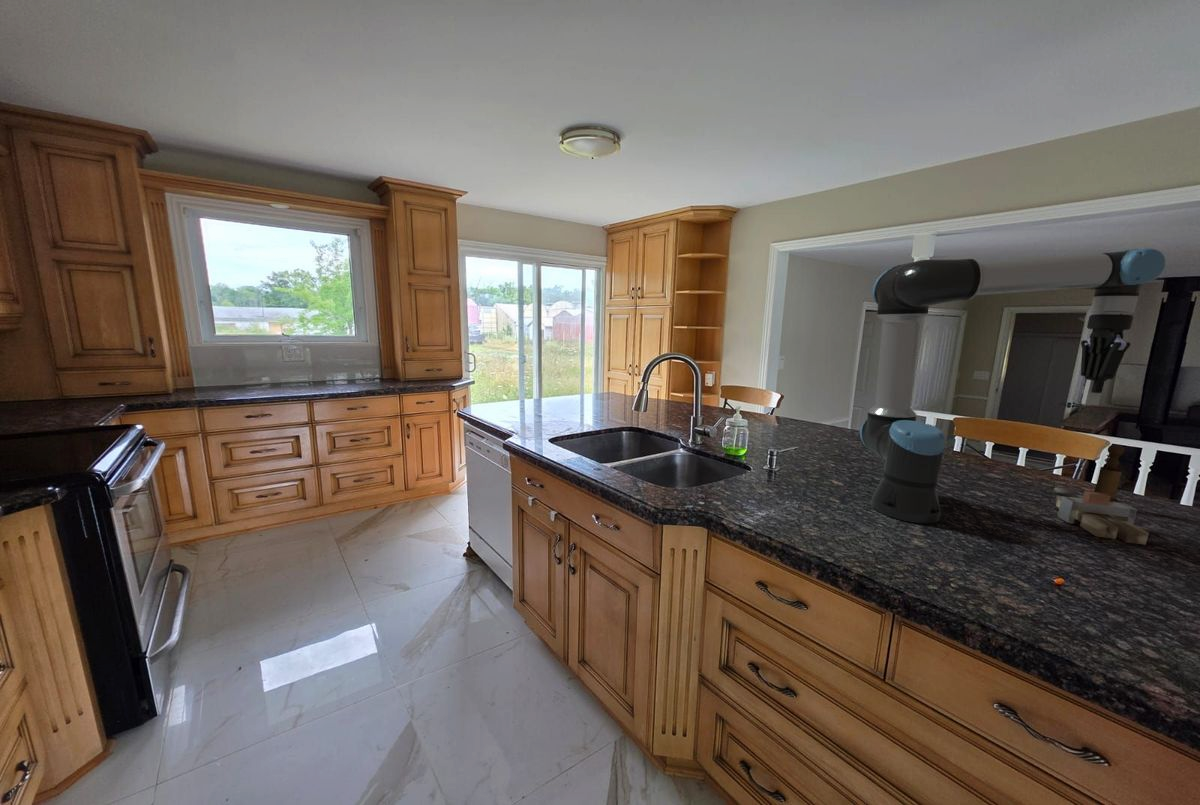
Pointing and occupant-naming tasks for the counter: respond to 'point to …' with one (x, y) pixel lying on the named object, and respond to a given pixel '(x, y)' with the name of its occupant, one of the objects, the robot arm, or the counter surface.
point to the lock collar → (1095, 507)
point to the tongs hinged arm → (1089, 518)
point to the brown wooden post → (1110, 474)
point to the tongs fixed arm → (1125, 529)
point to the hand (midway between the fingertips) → (1089, 404)
